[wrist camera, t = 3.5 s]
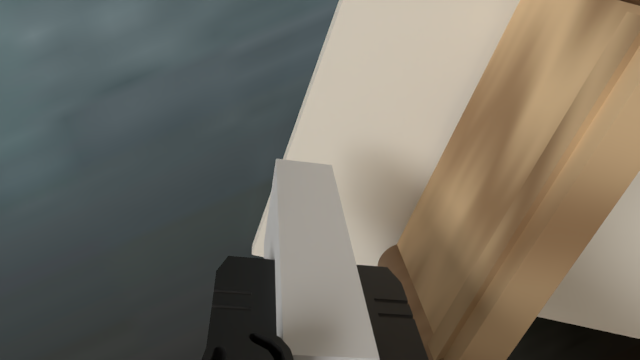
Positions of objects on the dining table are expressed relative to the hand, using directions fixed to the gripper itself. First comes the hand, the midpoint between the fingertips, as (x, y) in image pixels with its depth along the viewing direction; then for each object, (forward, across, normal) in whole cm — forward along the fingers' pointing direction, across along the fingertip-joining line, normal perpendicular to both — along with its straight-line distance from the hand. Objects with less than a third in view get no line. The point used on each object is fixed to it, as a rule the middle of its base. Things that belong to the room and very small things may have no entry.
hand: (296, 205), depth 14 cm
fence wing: (+4, +7, +1) cm, 8 cm away
